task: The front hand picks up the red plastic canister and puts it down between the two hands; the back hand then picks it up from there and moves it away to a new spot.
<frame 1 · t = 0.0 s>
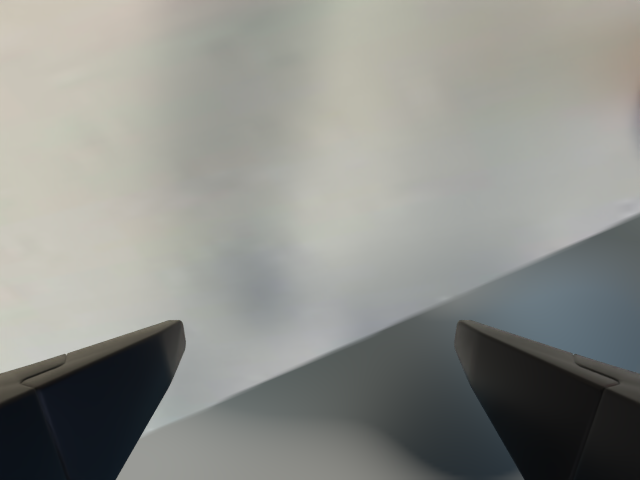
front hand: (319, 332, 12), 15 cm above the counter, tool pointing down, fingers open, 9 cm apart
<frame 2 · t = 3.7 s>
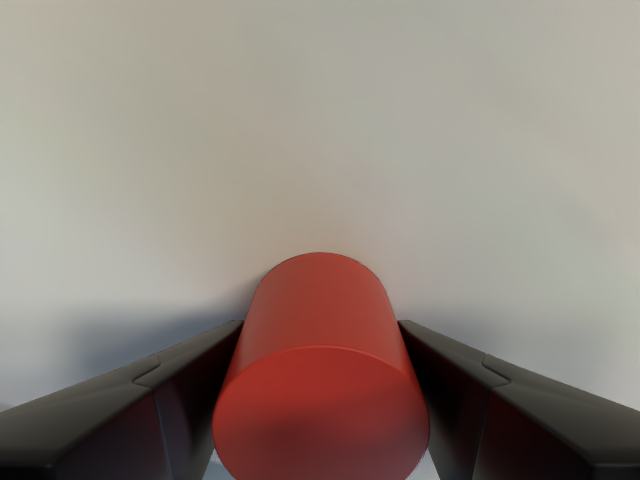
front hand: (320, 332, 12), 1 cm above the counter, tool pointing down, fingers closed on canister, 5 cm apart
canister: (320, 316, 13), on the counter, touching front hand
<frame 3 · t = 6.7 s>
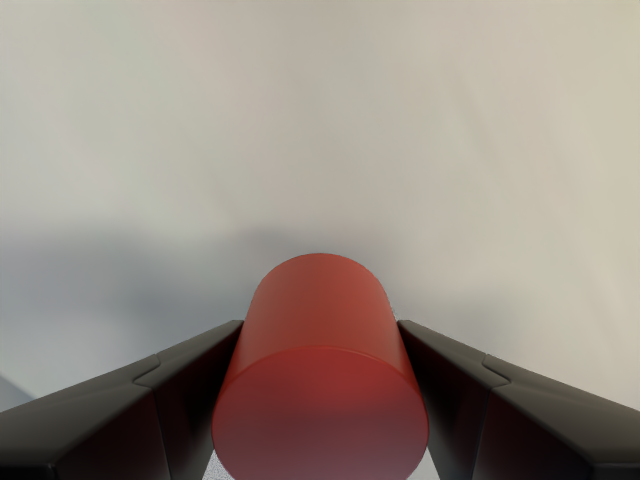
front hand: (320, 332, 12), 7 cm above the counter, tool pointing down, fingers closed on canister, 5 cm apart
canister: (320, 316, 13), point 6 cm above the counter, touching front hand
when the front hand's fingers open (2 cm above the counter, at t = 9.9 s): canister stays where it is, on the counter.
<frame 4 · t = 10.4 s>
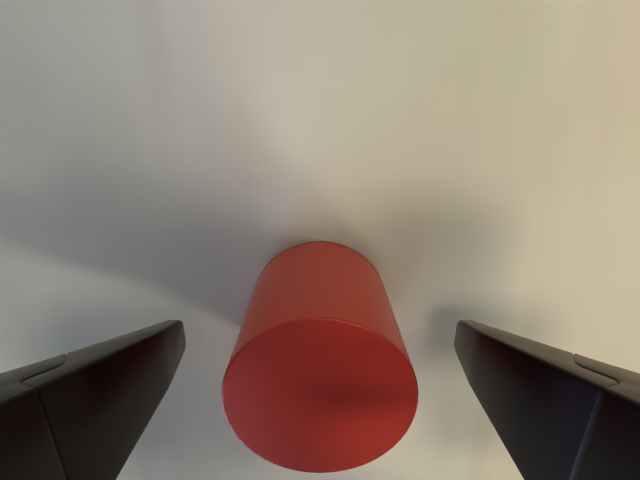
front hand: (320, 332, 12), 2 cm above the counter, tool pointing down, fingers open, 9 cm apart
canister: (319, 301, 14), on the counter
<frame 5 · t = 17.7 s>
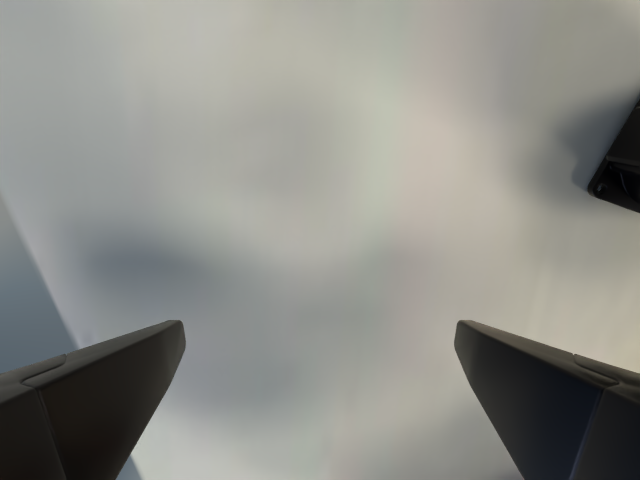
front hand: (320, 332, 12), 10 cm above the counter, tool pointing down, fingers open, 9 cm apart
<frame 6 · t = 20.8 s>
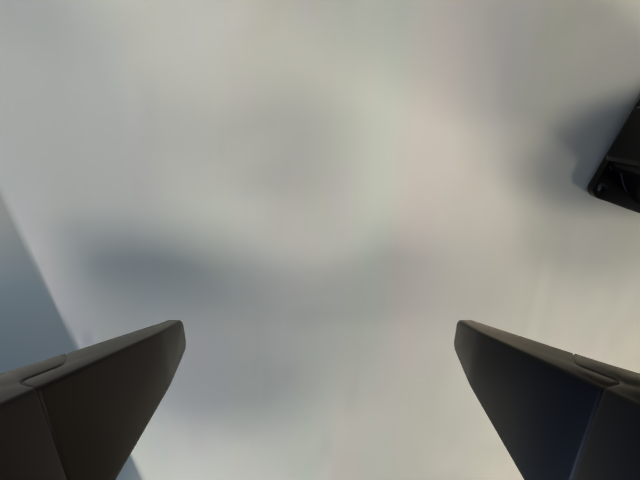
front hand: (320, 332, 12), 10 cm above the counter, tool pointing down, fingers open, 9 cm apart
when the back hand's fingers open (2 cm above the counter, at t = 24.0 s): canister stays where it is, on the counter.
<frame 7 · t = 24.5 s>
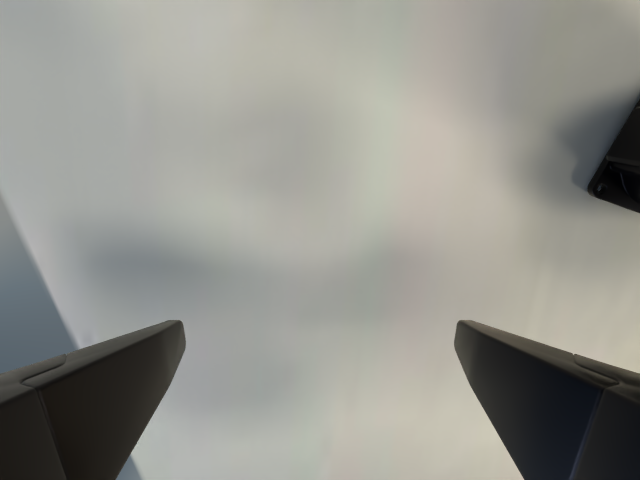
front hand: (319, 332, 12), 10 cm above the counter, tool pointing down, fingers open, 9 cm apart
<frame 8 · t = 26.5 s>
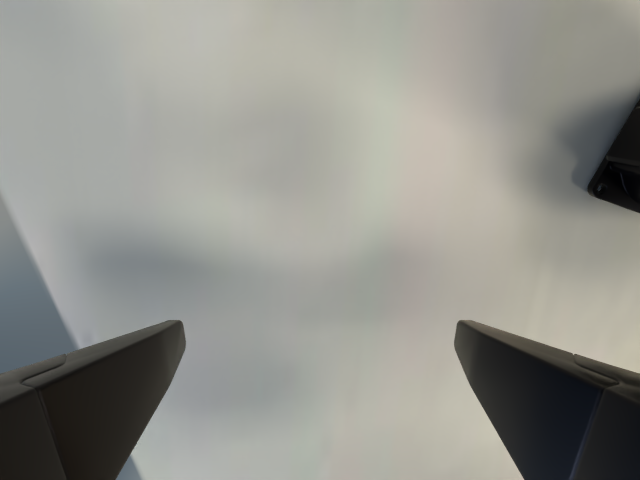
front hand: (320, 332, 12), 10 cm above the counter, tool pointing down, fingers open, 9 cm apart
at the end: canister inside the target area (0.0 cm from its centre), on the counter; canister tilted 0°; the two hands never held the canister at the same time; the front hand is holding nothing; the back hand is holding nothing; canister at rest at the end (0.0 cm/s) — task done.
